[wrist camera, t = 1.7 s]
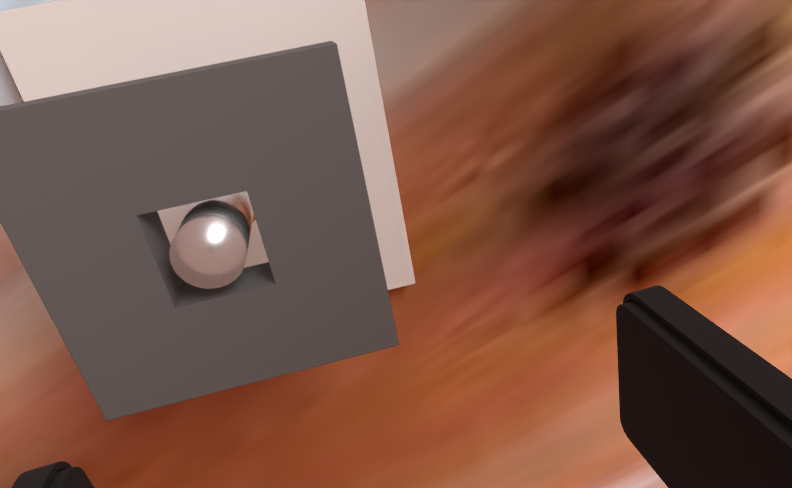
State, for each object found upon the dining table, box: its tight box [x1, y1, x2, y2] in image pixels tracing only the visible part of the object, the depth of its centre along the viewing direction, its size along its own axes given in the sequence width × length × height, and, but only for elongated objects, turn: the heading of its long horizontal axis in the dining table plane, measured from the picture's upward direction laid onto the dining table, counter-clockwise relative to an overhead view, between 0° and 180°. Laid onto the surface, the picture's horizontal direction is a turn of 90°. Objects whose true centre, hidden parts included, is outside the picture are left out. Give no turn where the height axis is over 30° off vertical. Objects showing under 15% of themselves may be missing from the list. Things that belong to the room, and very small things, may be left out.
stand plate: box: [0, 0, 415, 290], centre depth 35 cm, size 22×20×2 cm
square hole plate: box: [0, 41, 399, 421], centre depth 24 cm, size 14×14×2 cm
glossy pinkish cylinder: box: [169, 191, 256, 289], centre depth 28 cm, size 4×4×13 cm
